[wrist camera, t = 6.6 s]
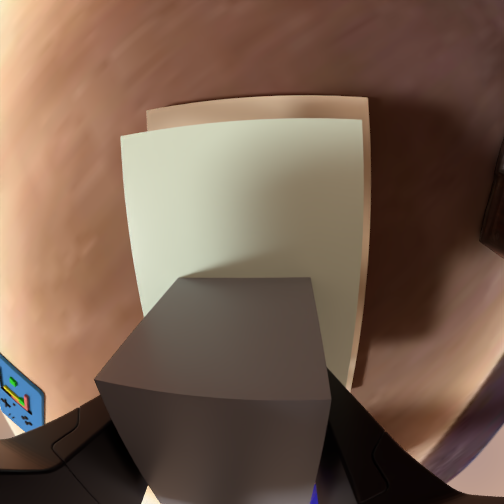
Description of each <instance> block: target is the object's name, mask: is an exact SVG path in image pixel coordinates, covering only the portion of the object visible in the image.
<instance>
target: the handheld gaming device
mask: <svg viewBox="0 0 504 504" xmlns="http://www.w3.org/2000/svg"><path fill="white" fill-rule="evenodd" d="M0 407H1V410H2V412H3V413H4V414H5V415H6V416H8V417H9V418H10V419H11V420H12V421H13V422H14V423H15V424H17V425H18V426H19V427H20V428H21V429H22V430H24V431H25V432H27V431H30V430H32V429H35V428H37V427H40V426H42V425H44V394H43V392H42V391H41V390H40V389H39V388H38V387H37V386H36V385H35V384H33V383H32V382H31V381H30V380H29V379H27V378H26V377H25V376H24V375H23V374H22V373H21V372H19V371H18V370H17V369H16V368H15V367H14V366H13V365H12V364H11V363H10V362H8V361H7V360H6V359H5V358H4V357H3V356H2V355H1V354H0Z"/></svg>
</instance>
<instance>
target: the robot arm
mask: <svg viewBox="0 0 504 504" xmlns="http://www.w3.org/2000/svg"><path fill="white" fill-rule="evenodd" d="M326 367H327V366H326ZM327 373H328V379H329V386H330V393H331V405H330V411H329V417H328V423H327V428H326V433H325V439H324V444H323V449H322V454H321V458H320V463H319V467H318V472H317V476H316V480H315V483H316V490H317V498H318V504H504V497H493V496H479V495H469V494H465V493H462V492H459V491H457V490H455V489H453V488H452V487H450V486H449V485H447V484H446V483H445V482H443V481H442V480H441V479H439V478H438V477H437V476H435V475H434V474H433V473H431V472H430V471H429V470H428V469H426V468H425V467H424V466H423V465H421V464H420V463H419V462H418V461H416V460H415V459H414V458H413V457H412V456H410V455H409V454H408V453H407V452H406V451H405V450H404V449H403V448H402V447H401V446H400V445H399V444H398V443H397V442H396V441H395V440H394V439H393V438H392V437H391V436H390V435H389V434H388V433H387V432H385V430H384V429H383V428H382V427H381V426H380V425H379V423H378V422H377V421H376V420H375V419H374V418H373V417H372V416H371V415H370V414H369V413H368V412H367V410H366V409H365V408H364V407H363V406H362V405H361V404H360V403H359V402H358V401H357V400H356V398H355V397H354V396H353V395H352V394H351V393H350V392H349V391H348V390H347V389H346V387H345V386H344V385H343V384H342V383H341V382H340V381H339V380H338V379H337V378H336V376H335V375H334V374H333V373H332V372H331V371H330V370H329V369H328V368H327ZM147 486H148V484H147V482H146V481H145V479H144V477H143V476H142V474H141V472H140V471H139V469H138V467H137V466H136V464H135V462H134V461H133V459H132V457H131V455H130V453H129V452H128V450H127V448H126V446H125V444H124V442H123V441H122V439H121V437H120V435H119V433H118V431H117V429H116V427H115V425H114V423H113V421H112V419H111V417H110V415H109V412H108V410H107V408H106V406H105V404H104V402H103V399H102V397H101V395H99V396H97V397H96V398H94V399H92V400H90V401H89V402H87V403H85V404H83V405H82V406H80V408H76V409H74V410H73V411H71V412H69V413H67V414H65V415H63V416H61V417H59V418H57V419H55V420H53V421H51V422H49V423H47V424H44V425H42V426H40V427H37V428H35V429H32V430H30V431H27V432H25V433H22V434H20V435H17V436H15V437H12V438H9V439H1V440H0V504H141V502H142V500H143V497H144V494H145V492H146V489H147Z"/></svg>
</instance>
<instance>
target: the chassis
mask: <svg viewBox="0 0 504 504" xmlns="http://www.w3.org/2000/svg"><path fill="white" fill-rule="evenodd" d="M146 111H147V131H154V130H160V129H167V128H174V127H181V126H189V125H197V124H207V123H217V122H228V121H242V120H258V119H286V118H330V119H357V120H362V131H363V160H364V208H363V237H362V256H361V270H360V283H359V294H358V304H357V313H356V322H355V330H354V338H353V345H352V352H351V359H350V365H349V371H348V377H347V383H346V389H347V390H348V391H349V392H350V391H351V386H352V381H353V375H354V370H355V364H356V358H357V352H358V345H359V339H360V331H361V324H362V316H363V308H364V299H365V290H366V279H367V267H368V254H369V237H370V213H371V148H370V124H369V108H368V98H365V97H349V96H320V95H291V96H262V97H246V98H233V99H222V100H213V101H204V102H196V103H189V104H182V105H175V106H169V107H163V108H157V109H152V110H146Z"/></svg>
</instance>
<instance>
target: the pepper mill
mask: <svg viewBox="0 0 504 504" xmlns="http://www.w3.org/2000/svg"><path fill="white" fill-rule="evenodd" d="M479 241H480V242H481V243H482V244H484V245H485V246H487V247H488V248H489V249H491V250H492V251H494V252H495V253H496V254H498V255H499V256H501V257H502V258H504V139H503V143H502V146H501V150H500V153H499V157H498V160H497V165H496V169H495V175H494V182H493V186H492V190H491V194H490V198H489V201H488V205H487V208H486V212H485V217H484V222H483V227H482V232H481V236H480V240H479Z"/></svg>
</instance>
